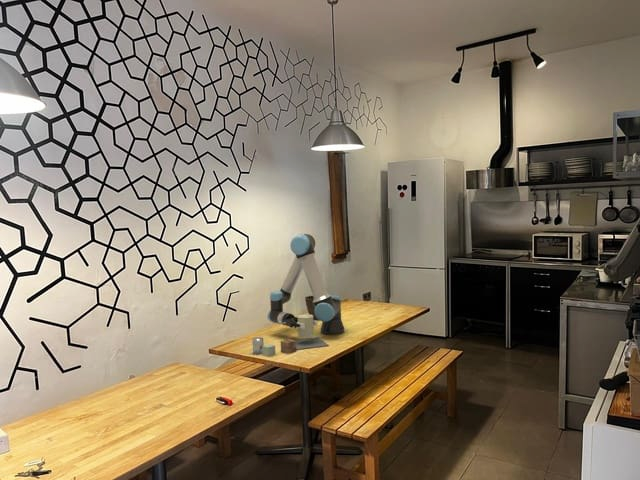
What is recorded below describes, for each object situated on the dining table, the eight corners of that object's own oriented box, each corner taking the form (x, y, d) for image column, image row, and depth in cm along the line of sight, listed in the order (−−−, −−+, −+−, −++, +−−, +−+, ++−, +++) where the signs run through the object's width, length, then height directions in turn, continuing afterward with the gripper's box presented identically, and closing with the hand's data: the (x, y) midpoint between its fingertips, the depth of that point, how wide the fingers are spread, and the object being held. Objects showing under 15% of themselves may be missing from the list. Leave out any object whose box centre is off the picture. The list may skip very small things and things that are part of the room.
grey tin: (262, 350, 262) (262, 336, 261) (264, 353, 256) (264, 339, 256) (252, 352, 260) (251, 337, 260) (253, 355, 254) (253, 340, 254)
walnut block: (289, 349, 262) (289, 339, 262) (296, 351, 258) (296, 340, 258) (281, 352, 258) (280, 341, 258) (287, 354, 254) (287, 343, 254)
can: (312, 338, 267) (311, 317, 266) (296, 337, 269) (295, 316, 268) (315, 333, 276) (314, 313, 275) (300, 333, 278) (299, 313, 277)
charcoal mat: (318, 337, 285) (318, 336, 285) (328, 346, 266) (328, 345, 266) (286, 341, 279) (286, 340, 279) (294, 350, 260) (294, 349, 260)
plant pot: (326, 321, 329) (325, 298, 328) (305, 322, 329) (304, 299, 328) (326, 316, 344) (325, 295, 343) (306, 317, 344) (305, 295, 343)
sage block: (270, 353, 258) (269, 343, 257) (275, 354, 254) (275, 345, 254) (262, 355, 254) (262, 345, 254) (267, 356, 250) (267, 347, 250)
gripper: (300, 322, 293) (325, 328, 276) (272, 328, 278) (296, 335, 262) (300, 310, 292) (324, 315, 276) (271, 315, 278) (295, 321, 261)
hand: (310, 325), depth 269 cm, fingers closed on can, 9 cm apart
